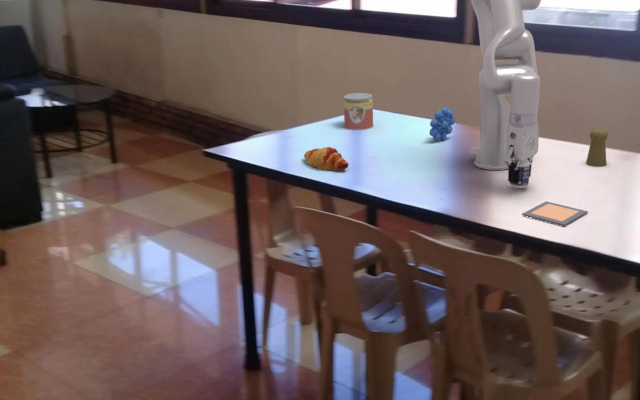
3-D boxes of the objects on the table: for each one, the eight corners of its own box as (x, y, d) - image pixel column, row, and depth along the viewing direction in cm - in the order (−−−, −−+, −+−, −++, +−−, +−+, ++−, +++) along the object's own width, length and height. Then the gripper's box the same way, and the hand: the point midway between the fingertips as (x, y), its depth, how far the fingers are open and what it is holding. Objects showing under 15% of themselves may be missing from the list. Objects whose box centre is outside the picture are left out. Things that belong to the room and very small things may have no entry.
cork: (607, 166, 228) (611, 132, 224) (587, 166, 229) (590, 132, 226) (604, 161, 234) (608, 127, 230) (584, 160, 235) (587, 127, 231)
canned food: (342, 130, 284) (341, 99, 279) (346, 122, 294) (345, 93, 290) (371, 130, 282) (371, 99, 278) (374, 122, 292) (374, 92, 288)
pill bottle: (525, 189, 209) (527, 157, 205) (506, 186, 212) (508, 154, 208) (531, 183, 213) (533, 151, 210) (512, 180, 216) (514, 148, 212)
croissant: (299, 171, 249) (289, 153, 244) (318, 152, 253) (308, 134, 248) (342, 183, 234) (332, 164, 229) (361, 162, 238) (352, 144, 233)
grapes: (445, 135, 270) (446, 102, 266) (459, 138, 265) (459, 106, 261) (421, 141, 264) (422, 108, 260) (434, 145, 259) (435, 111, 255)
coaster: (522, 215, 193) (522, 213, 193) (545, 203, 201) (546, 201, 201) (564, 226, 185) (564, 224, 185) (587, 213, 193) (587, 211, 193)
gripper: (518, 127, 197) (514, 190, 204) (551, 113, 208) (546, 173, 215) (494, 122, 202) (491, 184, 209) (527, 109, 213) (523, 168, 220)
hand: (519, 178), depth 212 cm, fingers closed on pill bottle, 5 cm apart
